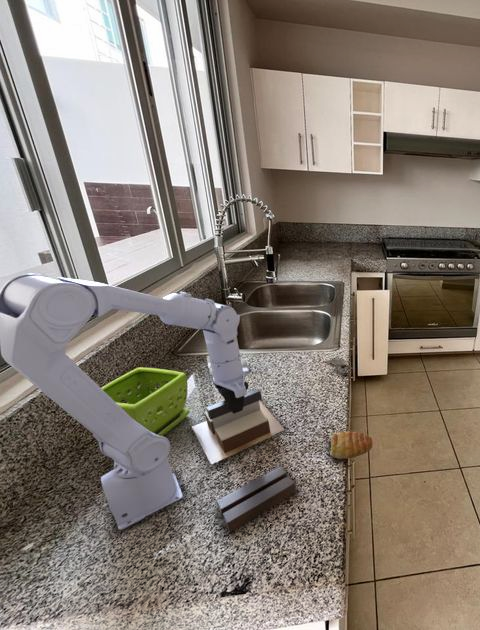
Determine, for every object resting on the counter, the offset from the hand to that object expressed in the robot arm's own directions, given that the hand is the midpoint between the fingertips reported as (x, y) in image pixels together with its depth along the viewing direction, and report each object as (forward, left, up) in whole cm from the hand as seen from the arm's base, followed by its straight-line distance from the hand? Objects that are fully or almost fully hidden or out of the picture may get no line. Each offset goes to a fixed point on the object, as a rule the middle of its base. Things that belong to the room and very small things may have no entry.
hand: (236, 409), depth 78 cm
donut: (+7, +31, -8) cm, 33 cm away
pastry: (+16, -21, -8) cm, 27 cm away
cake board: (0, +2, -7) cm, 8 cm away
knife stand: (-4, -21, -7) cm, 23 cm away
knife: (0, 0, -5) cm, 5 cm away
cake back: (0, +6, -7) cm, 9 cm away
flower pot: (-15, +16, -8) cm, 23 cm away
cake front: (0, -2, -7) cm, 7 cm away
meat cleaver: (+33, +11, -7) cm, 36 cm away
